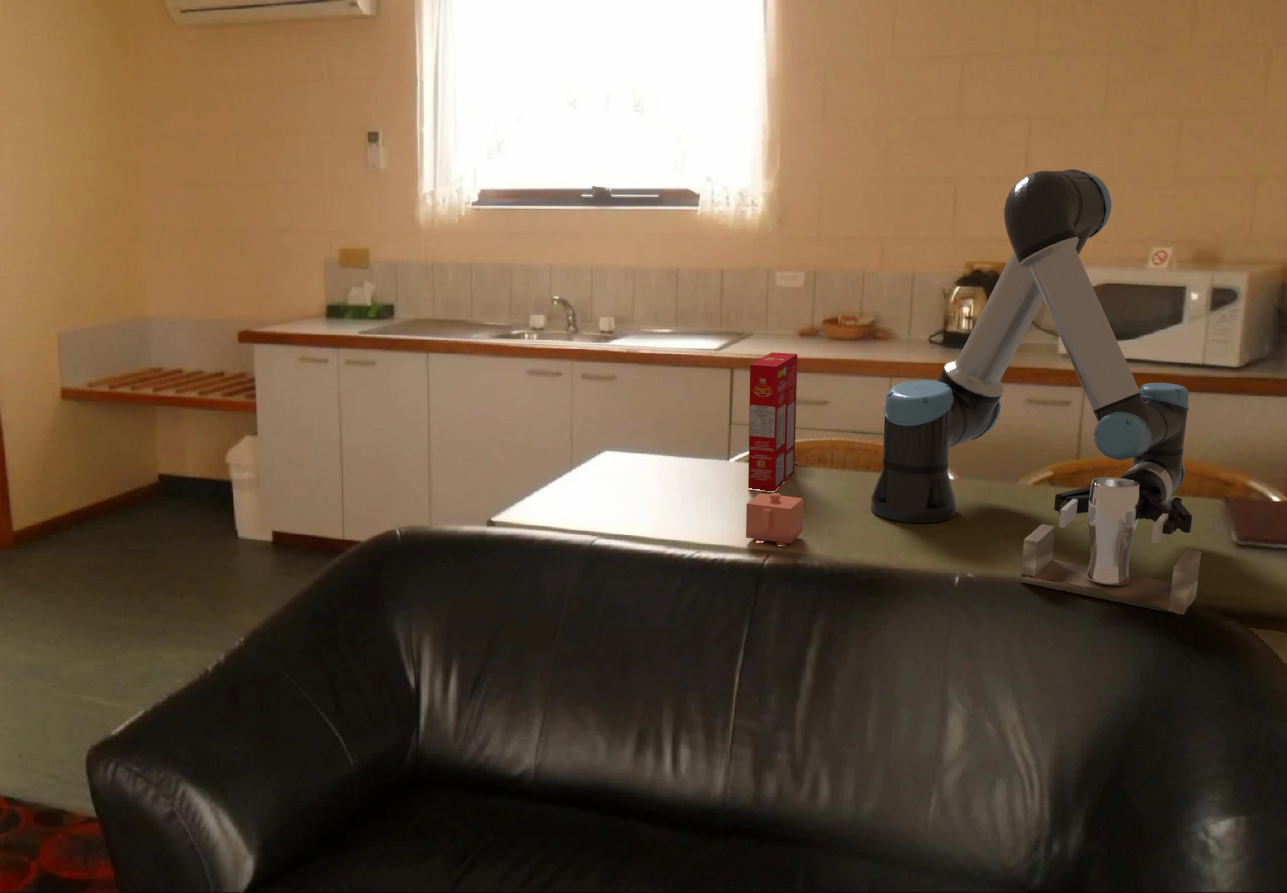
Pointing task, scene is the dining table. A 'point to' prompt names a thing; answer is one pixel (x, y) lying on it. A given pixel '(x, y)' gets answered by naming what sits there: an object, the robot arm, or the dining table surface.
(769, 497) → the pink cube teapot
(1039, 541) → the board
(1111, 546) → the beer glass
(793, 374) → the food packaging
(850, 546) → the dining table surface
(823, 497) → the dining table surface
